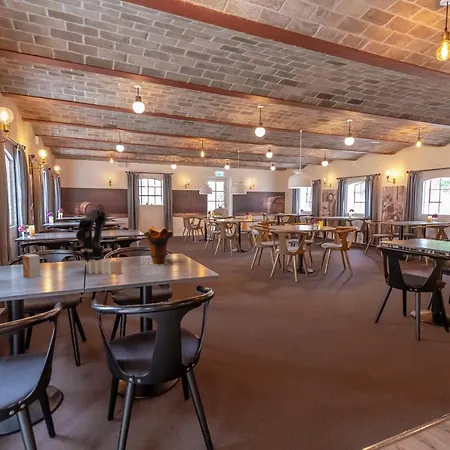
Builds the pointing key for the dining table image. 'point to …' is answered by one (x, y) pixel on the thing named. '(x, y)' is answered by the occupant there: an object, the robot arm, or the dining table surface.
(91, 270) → the domino
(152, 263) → the decorative vase
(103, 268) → the domino
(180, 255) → the dining table surface
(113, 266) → the domino
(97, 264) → the domino
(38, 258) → the small box
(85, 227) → the robot arm
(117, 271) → the domino
